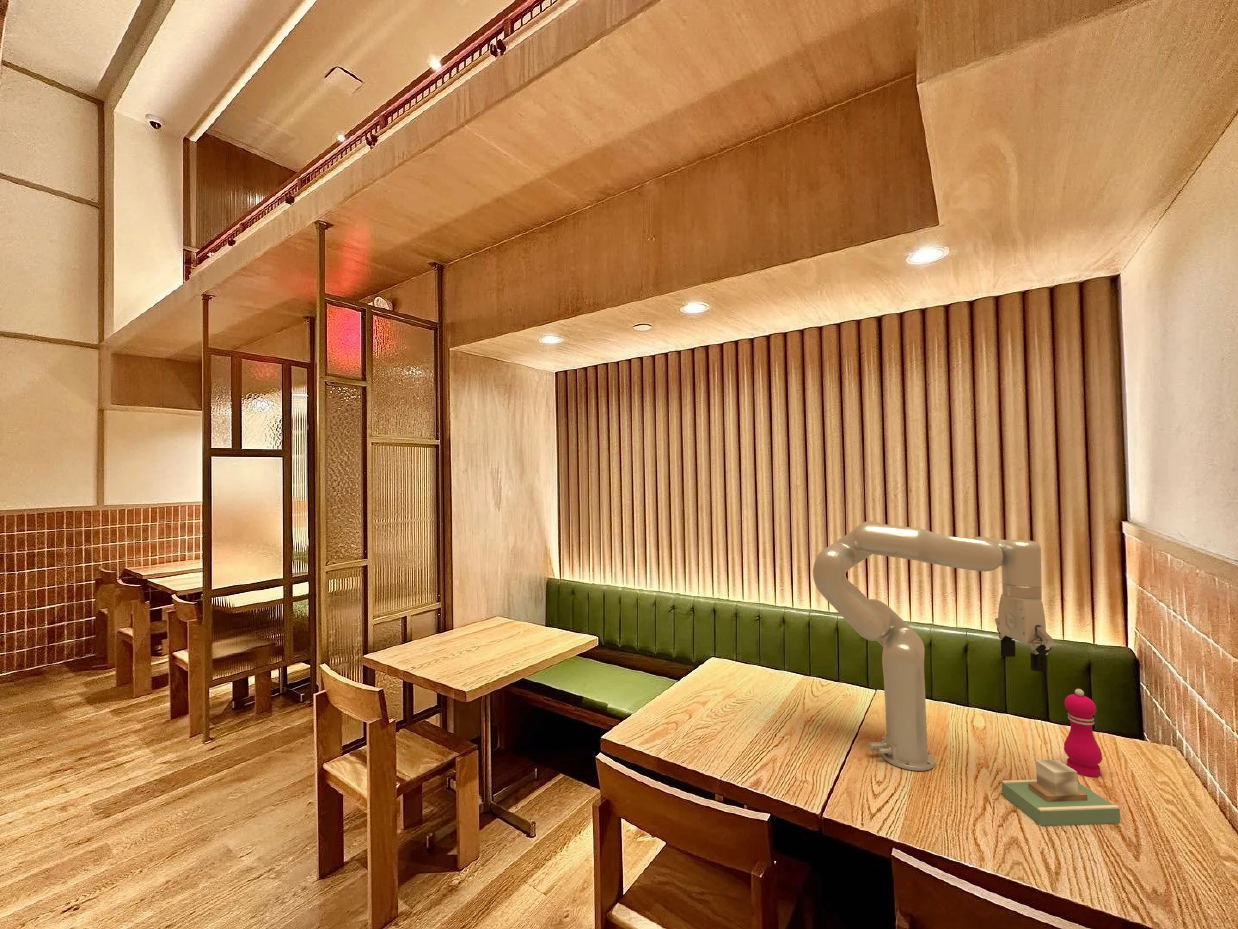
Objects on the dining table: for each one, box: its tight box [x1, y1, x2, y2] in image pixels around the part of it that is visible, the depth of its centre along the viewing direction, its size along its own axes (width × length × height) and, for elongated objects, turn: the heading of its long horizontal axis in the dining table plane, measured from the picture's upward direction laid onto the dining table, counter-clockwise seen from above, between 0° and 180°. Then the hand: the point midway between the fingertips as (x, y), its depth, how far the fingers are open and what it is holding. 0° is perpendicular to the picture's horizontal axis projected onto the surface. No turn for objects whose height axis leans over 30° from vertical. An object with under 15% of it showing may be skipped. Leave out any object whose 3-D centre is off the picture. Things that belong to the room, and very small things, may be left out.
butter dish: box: [1028, 759, 1087, 802], centre depth 117 cm, size 9×5×6 cm, turn 92°
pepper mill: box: [1063, 688, 1103, 778], centre depth 132 cm, size 7×7×20 cm
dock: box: [1001, 778, 1121, 827], centre depth 117 cm, size 17×11×3 cm, turn 91°
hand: (1022, 663), depth 126 cm, fingers open, 9 cm apart
